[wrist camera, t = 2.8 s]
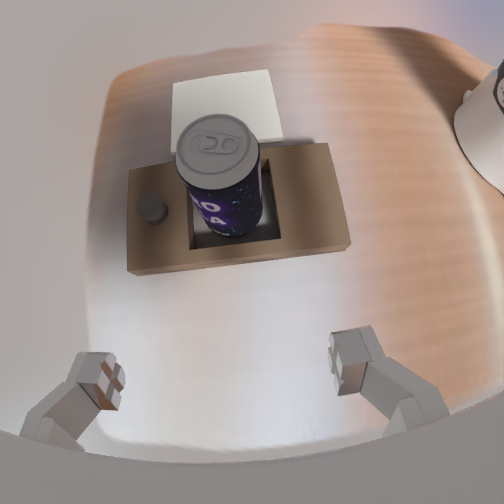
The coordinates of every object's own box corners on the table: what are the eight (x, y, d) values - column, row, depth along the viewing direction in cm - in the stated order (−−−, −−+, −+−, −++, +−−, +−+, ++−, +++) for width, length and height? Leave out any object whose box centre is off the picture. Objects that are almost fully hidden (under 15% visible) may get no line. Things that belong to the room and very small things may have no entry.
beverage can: (210, 183, 31) (182, 108, 19) (266, 188, 31) (264, 111, 19) (199, 236, 30) (159, 179, 18) (258, 243, 29) (252, 186, 18)
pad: (268, 73, 35) (268, 69, 34) (282, 141, 32) (283, 136, 31) (174, 87, 35) (173, 83, 34) (172, 156, 32) (170, 152, 31)
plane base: (323, 155, 31) (330, 131, 27) (344, 250, 29) (357, 237, 24) (138, 181, 32) (121, 160, 27) (137, 276, 29) (117, 266, 25)
